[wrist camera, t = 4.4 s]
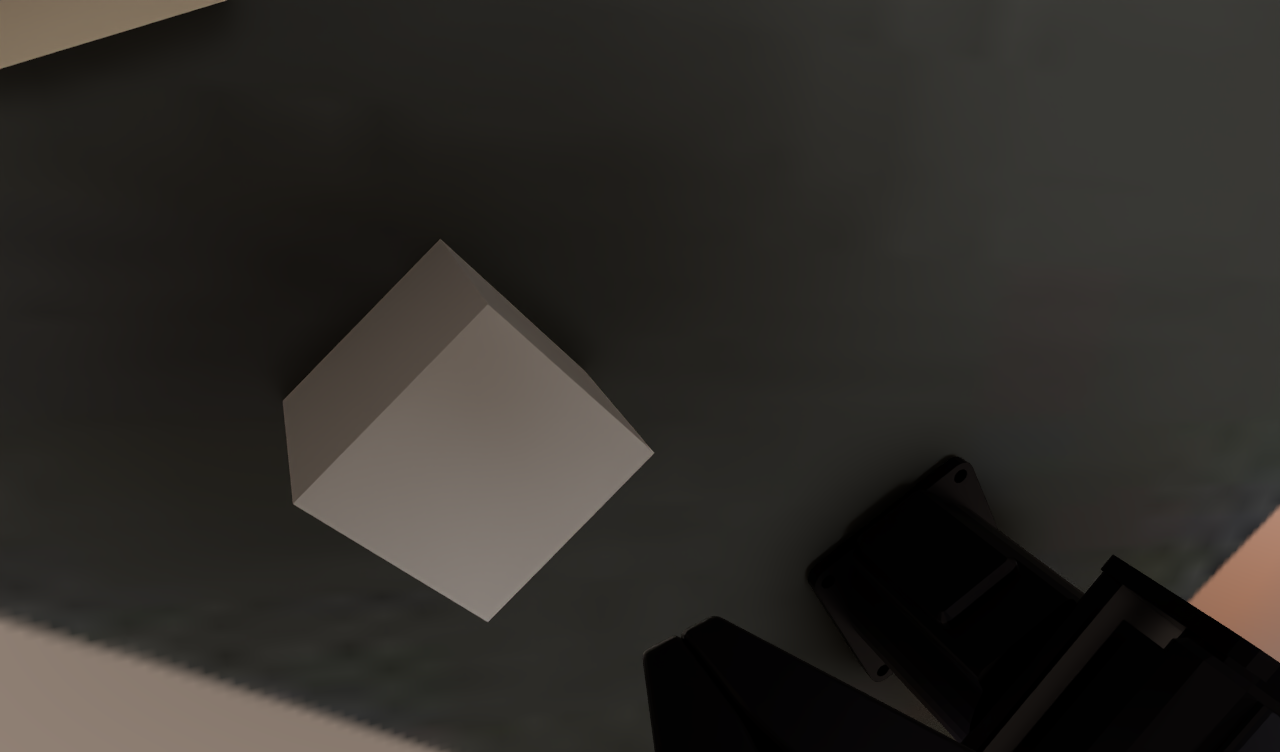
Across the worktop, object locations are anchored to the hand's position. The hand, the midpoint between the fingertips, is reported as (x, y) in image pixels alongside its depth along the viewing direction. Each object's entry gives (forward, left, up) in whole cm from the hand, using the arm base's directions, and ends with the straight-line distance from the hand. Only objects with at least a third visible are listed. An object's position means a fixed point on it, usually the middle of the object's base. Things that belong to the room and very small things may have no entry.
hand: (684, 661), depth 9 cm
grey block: (-2, +1, -13) cm, 13 cm away
